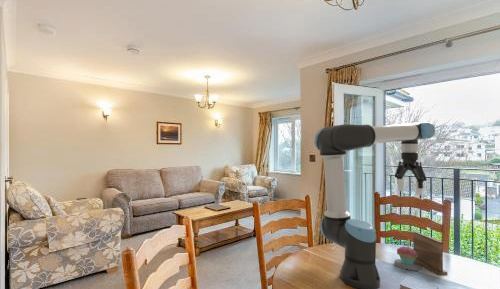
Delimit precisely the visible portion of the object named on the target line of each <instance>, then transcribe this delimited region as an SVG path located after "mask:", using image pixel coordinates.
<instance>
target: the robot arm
mask: <svg viewBox="0 0 500 289" xmlns="http://www.w3.org/2000/svg"><path fill="white" fill-rule="evenodd" d="M435 133H436V128H435V125H434V124H433V123H432V122H430V121H428V122H427V121H423V122H402V123H400V124H389V125H375V126H372V125H370V124H351V123H350V124H347V123H346V124H344V123H343V124H337V125H329V126H325V127H322V128H321V129H318V131H317V132H316V134H315V137H314V146H315V148H317V150H318V151H319V157H321V158H322V159H323V167H324V184H325V185H324V186H325V200H326V211H324V213H323V217H322V218H321V220H320V222H319V230H320V232H321V235H322V236H323V237H324V238H325V239H327V240H328V241H329V242H331V243H334V244H335V245H338V246H339V247H342V248H343V249H344V260H343V262H342V265H341V268H340V271H339V278H340V280H341V281H342V282H343V283H345V284H346V285H349V286H351V287H353V288H356V289H379V288H380V287H381V277H380V275H379V271H378V268H377V264H376V259H377V258H376V255H377V254H376V252H377V248H376V247H377V235H376V232H377V230H376V228H375V226H374V225H373V224H371V223H370V222H367V221H365V220H362V219H361V220H360V219H357V218H356V219H355V218H351V213H350V212H349V211H348V210H347V198H346V197H347V196H346V186H345V185H346V184H345V182H346V181H345V169H344V168H345V167H344V158H345V157H346V156H347V152H349V151H354V150H358V149H363V148H369V147H372V146H373V145H376V144H377V145H378V144H386V143H394V142H401V144H400V146H401V147H400V151H401V153H400V154H401V155H400V156H401V157H400V158H401V160H399V161H398V165H397V168H396V170H395V174H394V178H396V179H397V192H404V176H405V174H406V173H407V172H408V171H411V172H412V174H413V176H414V177H415V179H416V181H415V195H416V196H423V188H424V182H427V176H426V174H425V171H424V169H423V164H422V163H423V162H421V161H418V160H419V152H418V151H419V140H427V139H432V138H433V137H434V136H435Z"/></svg>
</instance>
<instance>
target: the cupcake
mask: <svg viewBox="0 0 500 289" xmlns="http://www.w3.org/2000/svg"><path fill="white" fill-rule="evenodd" d="M396 254H397V255H399V257H400V258H399V259H401V262H402V263H404V264H408V265H413V263H414V261H415V259H416V258H417V257H418V255H417V252H416V251H415V250H413V248H411V247H410V239H407V246H400V247H398V248H397V249H396Z"/></svg>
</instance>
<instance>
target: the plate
mask: <svg viewBox="0 0 500 289" xmlns="http://www.w3.org/2000/svg"><path fill="white" fill-rule="evenodd" d="M394 265H395V266H396V267H398V266H399V267H398V268H400V267H401V268H400V269H402V268H404V269H403V270H405V269H408V270H407V271H410V270H413V272H419V271H422V268H423V267H422V266H421V265H420V264H419V263H416V262H414V263H413V265H408V264H404V263H402V262H401V258H397V259H394Z"/></svg>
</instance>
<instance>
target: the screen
mask: <svg viewBox="0 0 500 289" xmlns="http://www.w3.org/2000/svg"><path fill="white" fill-rule="evenodd" d="M412 236H413V237H412V238H413V244H412V246H413V248H412V249H413V250H415V251H416V252H417V255H418V257H417V258H416V259H415V261H414V262H416V263H419V264H420V265H421V266H422V268H424V269H426V270H428V271H429V272H431V273H433V274H434V275H436V276H442V275H443V276H447V275H448V271H446V270H444V252H443V251H444V241H442V240H438V239H436V238H434V237H430V236H429V235H425V234H423V233H421V232H418V231H413V235H412Z"/></svg>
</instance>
